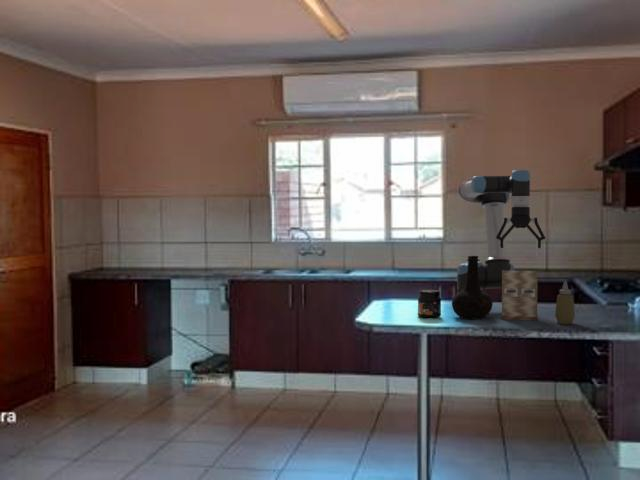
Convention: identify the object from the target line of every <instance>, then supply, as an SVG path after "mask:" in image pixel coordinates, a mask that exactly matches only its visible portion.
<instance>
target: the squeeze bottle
mask: <svg viewBox="0 0 640 480" xmlns="http://www.w3.org/2000/svg"><path fill="white" fill-rule="evenodd" d="M556 297H557V298H556V303H555V304H556V305H555V312H554V313H555V314H554V316H555V319H556V321H557V324H560V325H572V324H573V323H574V320H575V315H576V313H575V305H574V304H575V303H574V296H573V295H572V291H571V289H569V286H568V282H567V280H565V281H563V284H562V287H561V289H559V294H558V295H557V296H556Z"/></svg>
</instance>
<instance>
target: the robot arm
mask: <svg viewBox="0 0 640 480" xmlns="http://www.w3.org/2000/svg"><path fill="white" fill-rule="evenodd" d="M530 191H531V173H530V171H529V170H528V169H515V170H512V172H511V175H475V176H473V177H472V179H467V180H464V181H463V182H461V183H460V185H459V187H458V193H459V195H460V197H461V199H462V200H464V201H466V202H470V203H474V204H475V203H477V204H479V203H480V204H481V208H483V210H484V211H485V212H484V213H485V214H484V215H485V228H486V231H485V233H486V246H487V247H486V248H487V258H486V259H485V260H484V263H483V262H482V261H478V277H479V286H480V289H481V290H482V291H483V289H484V290H485V289H500V290H502V271H515V266H514V264H513V263H511V262H510V261H511V260H510V258H508V256H507V251H506V249H507V248H506V237H507V236H509V234H510V233H511V232H512V231H513V229H514V228H515V229H520V228H521V229H525V228H527V230H528V231H529V232H530V233H531V234H532V235H533V236H534V238H535V239H537V240H535V256H536V257H538V256H539V249H541V246H542V245H541V244H542V243H541V242H542V241H543V240H545V239H546V236H545V234H544V231H542V229H541V227H540V225H539V222H538V218H537V217H532V218H531V216H530V214H531V213H530V212H531V211H530V210H531V208H530V204H531V201H530V200H531V198H530V195H531V192H530ZM510 194H511V206H512V207H511V217H510V218H509V217H504V208H506V206H507V203H509V201H510ZM509 222H510V223H511V226H510V227H509V228H508V229H507V231H505V227H506V225H507V224H509ZM531 222H532V223H533V224H534V226H535V227H536V229H537V231H538V233H539V234H540V236H539V234H537V232H536V231H535V230H534V229H533V228H532V227H531V226H530V223H531ZM467 270H468V261H467V262H462V263H460V264H458V265H457V269H456V272H457V273H456V278H457V279H456V280H457V281H456V284H457V286H456V289H457V292H456V294H457V293H459V292H461V291H462V290H463V289H464V287H465V283H466V278H467Z"/></svg>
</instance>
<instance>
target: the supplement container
mask: <svg viewBox="0 0 640 480" xmlns="http://www.w3.org/2000/svg"><path fill="white" fill-rule="evenodd" d="M441 307H442V298H441V291H440V290H439V289H420V290H418V297H417V316H418V317H419V318H420V317H421V319H428V318H433V319H439V318H441V316H442V308H441Z"/></svg>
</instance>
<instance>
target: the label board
mask: <svg viewBox="0 0 640 480" xmlns="http://www.w3.org/2000/svg"><path fill="white" fill-rule="evenodd" d="M501 320H508V321H509V320H511V321H516V320H517V321H538V271H537V270H514V271H502V289H501Z"/></svg>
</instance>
